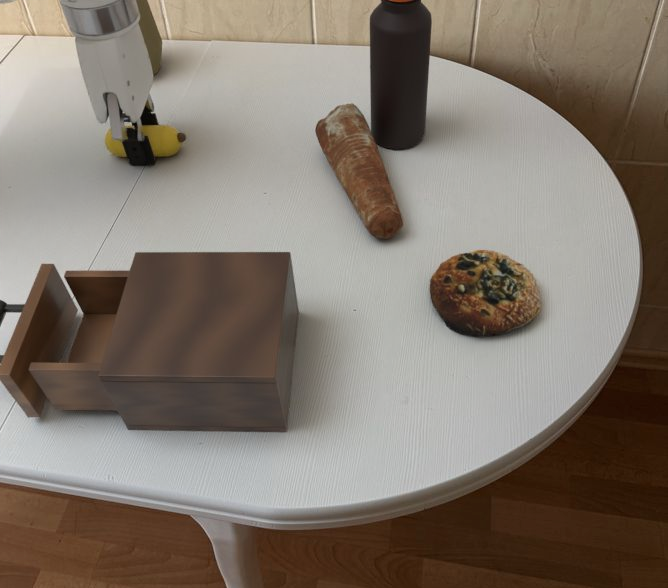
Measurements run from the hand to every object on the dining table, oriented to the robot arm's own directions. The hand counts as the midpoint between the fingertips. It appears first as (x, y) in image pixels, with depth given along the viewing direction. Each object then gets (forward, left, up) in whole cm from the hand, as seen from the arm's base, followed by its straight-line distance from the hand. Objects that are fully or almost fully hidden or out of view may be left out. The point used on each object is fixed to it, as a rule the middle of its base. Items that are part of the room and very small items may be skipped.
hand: (146, 151), depth 88 cm
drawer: (+2, -33, +1) cm, 33 cm away
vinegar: (+31, +3, 0) cm, 32 cm away
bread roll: (+40, -24, 0) cm, 47 cm away
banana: (0, 0, 0) cm, 0 cm away
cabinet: (+14, -33, 0) cm, 36 cm away
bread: (+28, -7, 0) cm, 29 cm away
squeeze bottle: (-5, +19, 0) cm, 20 cm away
